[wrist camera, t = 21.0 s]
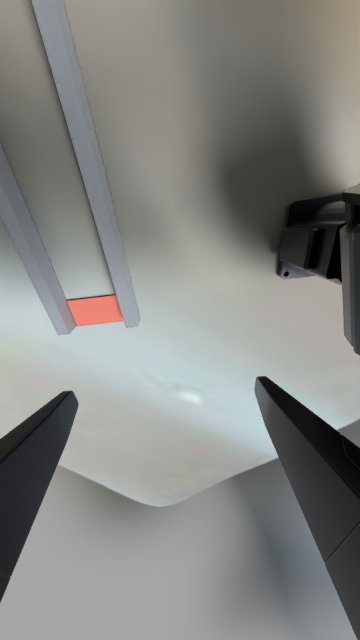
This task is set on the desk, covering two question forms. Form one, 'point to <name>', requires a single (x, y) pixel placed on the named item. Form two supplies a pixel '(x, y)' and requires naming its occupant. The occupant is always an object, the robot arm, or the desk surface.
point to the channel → (8, 202)
